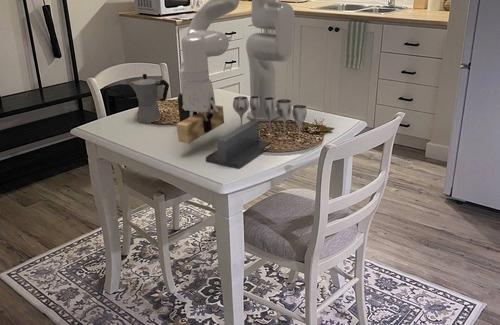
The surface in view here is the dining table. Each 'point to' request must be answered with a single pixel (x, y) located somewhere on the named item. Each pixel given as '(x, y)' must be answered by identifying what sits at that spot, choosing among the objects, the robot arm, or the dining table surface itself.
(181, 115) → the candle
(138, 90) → the coffeepot
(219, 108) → the oak beam
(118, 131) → the dining table surface
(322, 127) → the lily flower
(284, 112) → the goblet set
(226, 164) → the steel ridge
